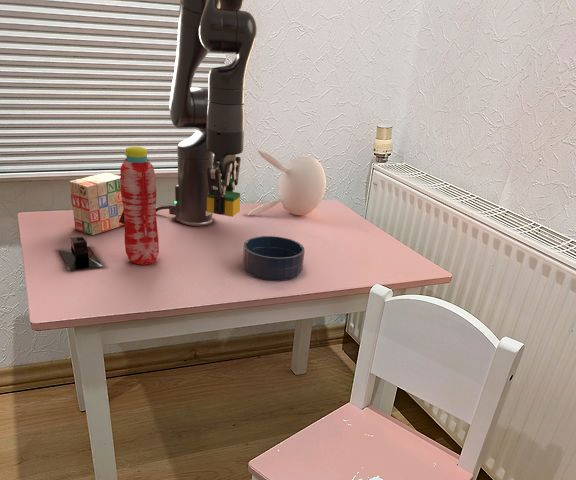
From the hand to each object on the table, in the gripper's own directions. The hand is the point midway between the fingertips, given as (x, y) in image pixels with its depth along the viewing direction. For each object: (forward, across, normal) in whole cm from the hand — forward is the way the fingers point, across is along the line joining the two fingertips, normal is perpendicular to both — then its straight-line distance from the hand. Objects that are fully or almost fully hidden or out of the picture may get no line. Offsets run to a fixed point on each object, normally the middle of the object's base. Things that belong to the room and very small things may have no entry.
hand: (223, 210), depth 126 cm
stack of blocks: (+14, -16, -37) cm, 43 cm away
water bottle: (+14, +2, -19) cm, 24 cm away
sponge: (0, 0, 0) cm, 0 cm away
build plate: (+14, +9, -31) cm, 35 cm away
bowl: (+14, -6, +10) cm, 19 cm away
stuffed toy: (+14, -48, +2) cm, 50 cm away
